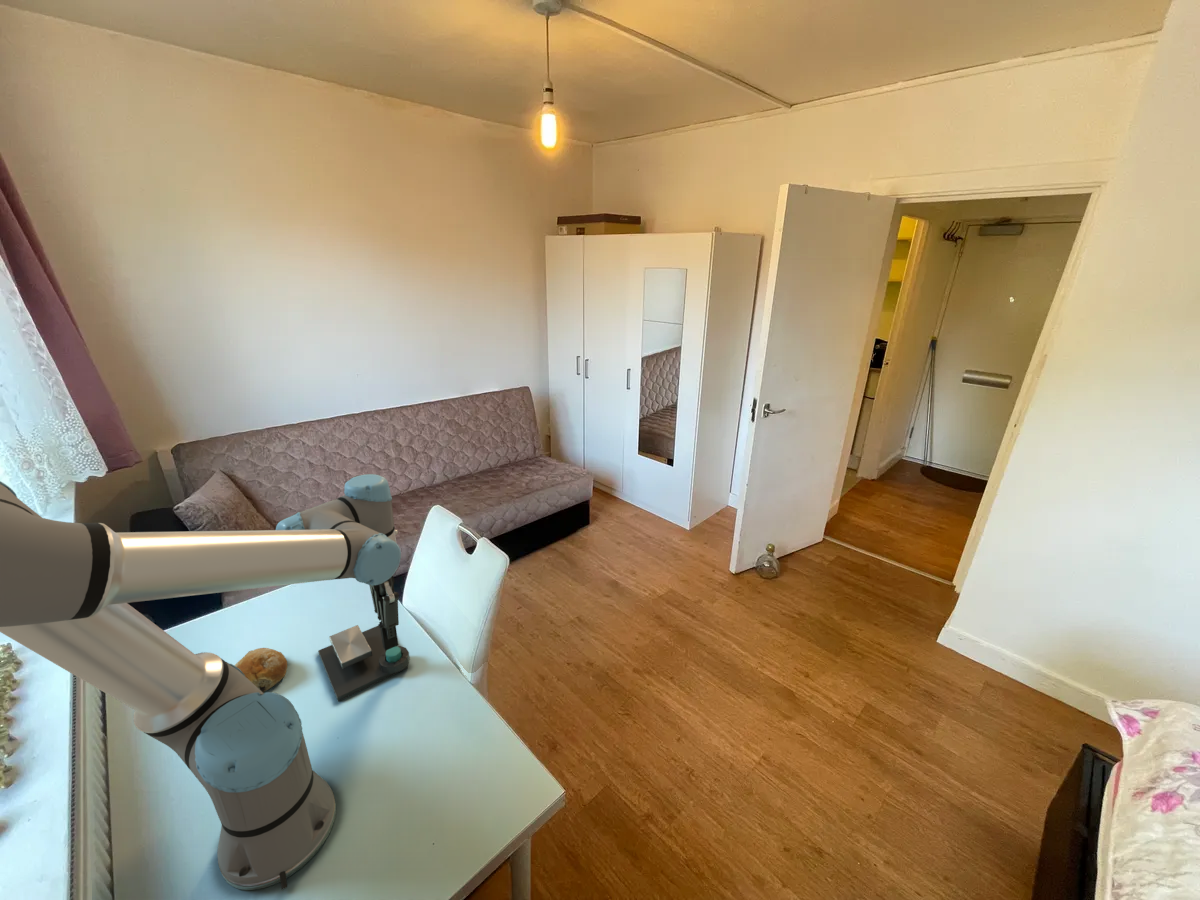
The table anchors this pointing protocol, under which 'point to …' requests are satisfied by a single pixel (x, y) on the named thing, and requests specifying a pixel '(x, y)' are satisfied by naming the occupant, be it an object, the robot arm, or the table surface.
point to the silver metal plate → (350, 646)
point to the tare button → (393, 654)
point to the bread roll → (263, 667)
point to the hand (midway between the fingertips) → (390, 645)
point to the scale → (362, 667)
